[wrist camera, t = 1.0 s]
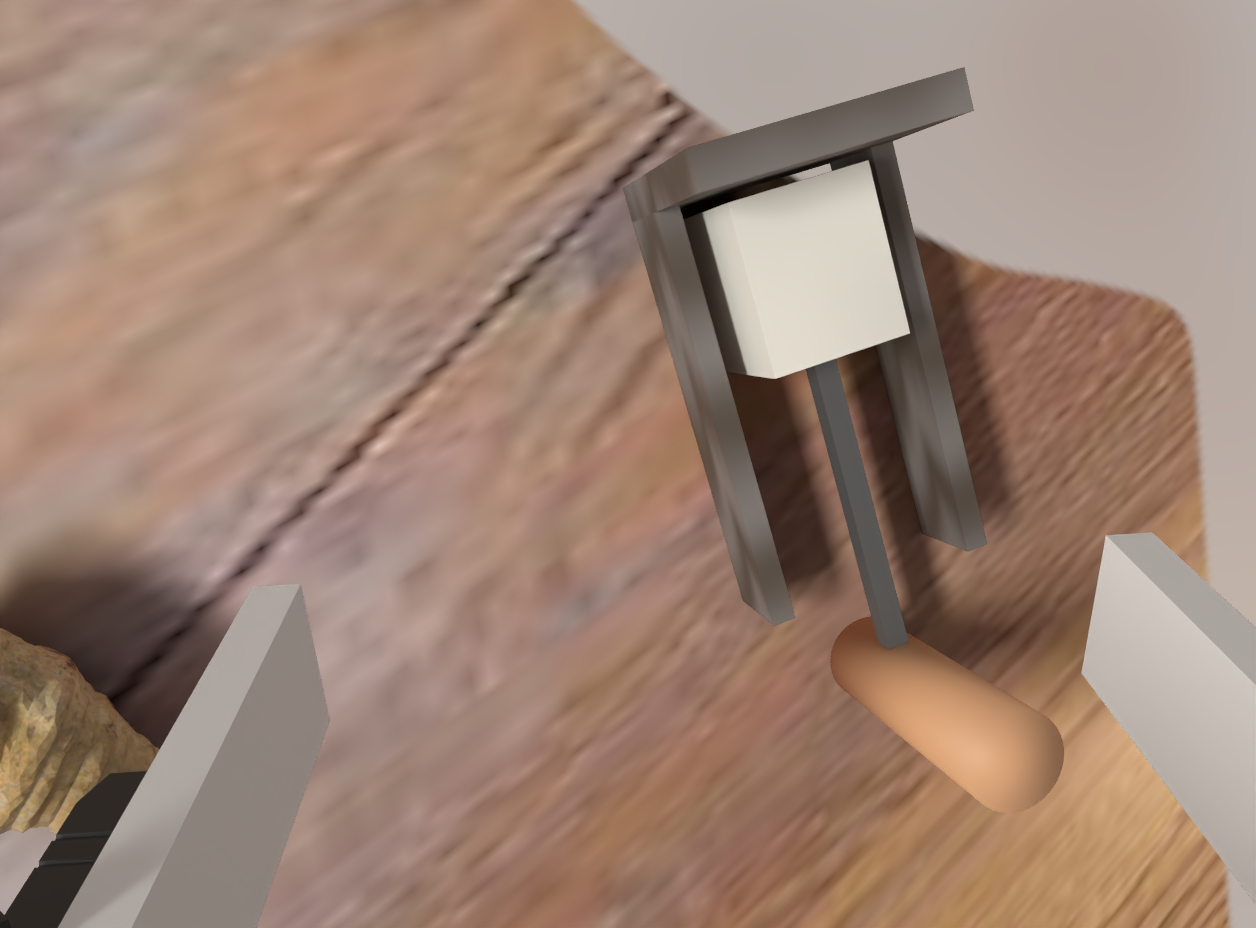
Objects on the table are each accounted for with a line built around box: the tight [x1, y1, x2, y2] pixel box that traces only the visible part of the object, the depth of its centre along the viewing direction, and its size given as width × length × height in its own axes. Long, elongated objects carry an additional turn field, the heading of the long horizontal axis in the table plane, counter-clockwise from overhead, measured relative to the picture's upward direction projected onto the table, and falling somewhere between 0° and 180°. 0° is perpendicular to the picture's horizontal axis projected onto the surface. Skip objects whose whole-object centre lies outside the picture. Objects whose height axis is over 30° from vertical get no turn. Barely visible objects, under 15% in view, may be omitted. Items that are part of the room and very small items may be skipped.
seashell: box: [0, 628, 160, 835], centre depth 37 cm, size 14×8×8 cm, turn 60°
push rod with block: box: [684, 160, 1064, 813], centre depth 40 cm, size 24×6×12 cm, turn 17°
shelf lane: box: [623, 68, 987, 626], centre depth 40 cm, size 20×10×10 cm, turn 17°
